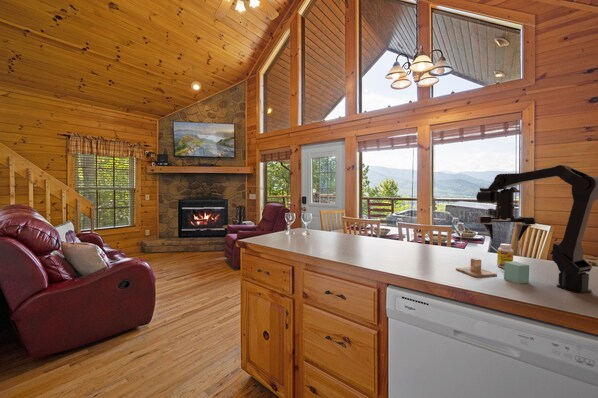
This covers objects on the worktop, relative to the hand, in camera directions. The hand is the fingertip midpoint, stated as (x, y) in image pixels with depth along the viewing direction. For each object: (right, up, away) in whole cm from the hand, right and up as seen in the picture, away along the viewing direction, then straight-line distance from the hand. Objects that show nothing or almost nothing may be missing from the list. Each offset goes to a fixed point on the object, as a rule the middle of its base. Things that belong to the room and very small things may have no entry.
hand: (504, 240), depth 111 cm
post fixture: (-14, -13, -2) cm, 19 cm away
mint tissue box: (-5, -14, -11) cm, 18 cm away
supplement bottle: (+5, -13, +6) cm, 15 cm away
